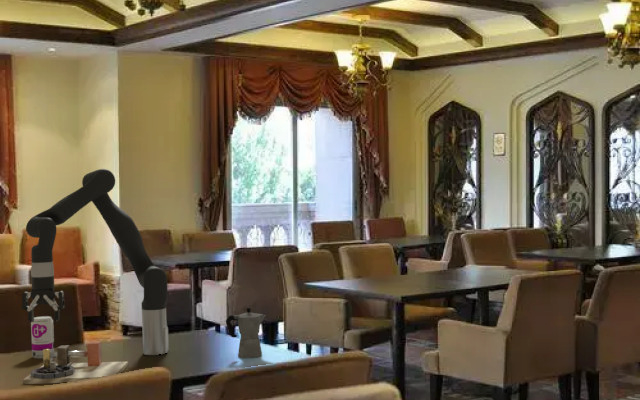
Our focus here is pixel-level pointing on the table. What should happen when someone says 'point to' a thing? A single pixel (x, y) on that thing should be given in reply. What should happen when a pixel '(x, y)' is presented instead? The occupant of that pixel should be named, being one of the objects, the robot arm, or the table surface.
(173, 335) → the table surface
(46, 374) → the handwheel
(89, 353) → the copper cube on rod
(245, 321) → the coffeepot
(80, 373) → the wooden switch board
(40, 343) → the supplement can
